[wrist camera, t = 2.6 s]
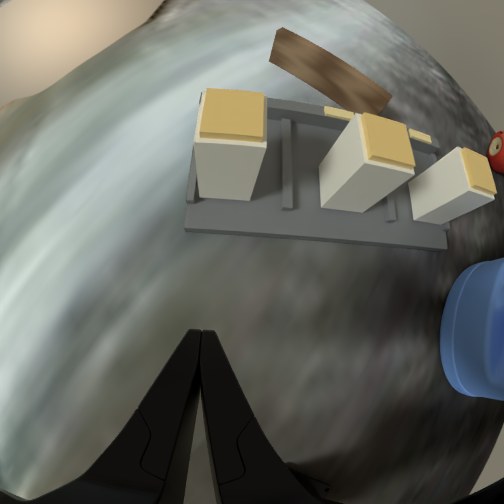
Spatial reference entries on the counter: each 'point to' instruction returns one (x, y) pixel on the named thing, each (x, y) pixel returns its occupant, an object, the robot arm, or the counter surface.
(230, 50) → the counter surface
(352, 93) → the plaque
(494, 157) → the apple
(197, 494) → the counter surface
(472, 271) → the water jug
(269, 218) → the button board
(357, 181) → the button middle
